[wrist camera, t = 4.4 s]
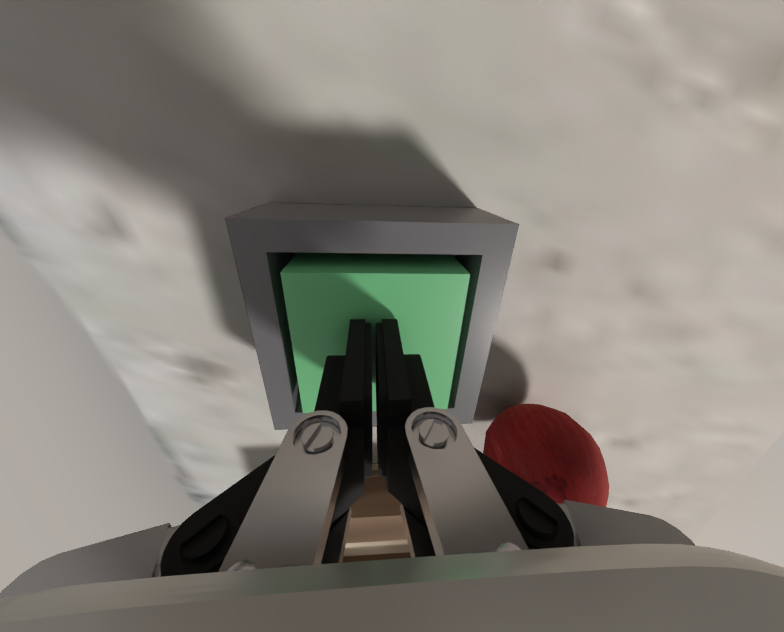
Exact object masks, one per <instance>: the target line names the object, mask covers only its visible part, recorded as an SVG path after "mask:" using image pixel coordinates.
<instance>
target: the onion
mask: <svg viewBox="0 0 784 632" xmlns="http://www.w3.org/2000/svg"><path fill="white" fill-rule="evenodd" d="M483 454H485V455H486V456H488V457H489V458H491V459H492V460H494V461H495V462H497V463H499V464H500V465H502V466H503V467H505V468H506V469H508V470H509V471H511V472H513V473H514V474H516V475H517V476H519V477H520V478H522V479H523V480H525V481H527V482H528V483H530V484H531V485H533V486H534V487H536V488H537V489H539V490H541V491H542V492H544V493H545V494H546V495H548V496H549V497H550V498H551V499H553V500H554V501H555V502H556V503H560V504H563V502H564V500H569V501H574V502H580V503H585V504H591V505H596V506H601V507H606V505H607V500H608V494H609V483H608V476H607V471H606V467H605V462H604V459H603V457H602V454H601V451H600V448H599V447H598V445H597V444H596V442H595V441H594V439H593V438H592V436H591V435H590V434H589V433H588V432H587V431H586V430H585V429H584V428H582V427H581V426H580V425H579V424H578V423H577V422H575V421H574V420H573V419H572V418H571V417H570V416H568V415H567V414H566V413H564V412H561V411H558V410H556V409H553V408H549V407H546V406H543V405H538V404H517V405H513V406H510V407H508V408H507V409H505V410H504V411H502V412H501V413H500V414H498V416H497V417H496V418H495V420H494V421H493V422H492V424H491V425H490V427H489V428H488V430H487V431H486V437H485V444H484V451H483Z"/></svg>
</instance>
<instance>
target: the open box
mask: <svg viewBox="0 0 784 632" xmlns="http://www.w3.org/2000/svg"><path fill="white" fill-rule="evenodd" d="M401 558H411V555H410V551H409V546H408V542H407V538H406V533H405V529H404V525H403V520H402V516H401V512H400V503H399V501H398V500H397V499H396V498H395V497H394V496H393V495H392V494H390V493H389V492H388V488H386V481H385V476H378V464H372V477H365V489H364V493H363V494H362V495H361V496H360V497H359V498H358V499H357V500H356V501H355V503H354V504H353V505H352V514H351V519H350V524H349V529H348V535H347V540H346V545H345V550H344V556H343V561H342V563H346V562H359V561H373V560H387V559H401Z"/></svg>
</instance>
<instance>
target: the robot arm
mask: <svg viewBox="0 0 784 632" xmlns="http://www.w3.org/2000/svg"><path fill="white" fill-rule="evenodd" d="M376 416H377V450H378V476H385V481H386V488H388V492H389V493H390V494H392V495H393V496H394V497H395V498H396V499H397V500H398V501H399V503H400V512H401V516H402V520H403V525H404V529H405V533H406V538H407V542H408V546H409V551H410V555H411V558H401V559H387V560H373V561H359V562H346V563H342V561H343V556H344V550H345V545H346V540H347V535H348V529H349V524H350V519H351V514H352V505H353V504H354V503H355V501H356V500H357V499H358V498H359V497H360V496H361V495H362V494H363V493H364V489H365V477H372V338H371V323H365V319H350V324H349V331H348V339H347V347H346V355H329V356H327V357H326V361H325V365H324V370H323V374H322V379H321V383H320V388H319V392H318V396H317V401H316V405H315V410H314V412H310V413H307V414H305V415H304V416H302V417H300V418H299V419H297V420H296V421H295V422H294V423H293V424H292V425H291V427H290V428H289V430H288V431H287V433H286V435H285V437H284V439H283V441H282V443H281V445H280V447H279V449H278V451H277V453H276V455H275V456H273V457H272V458H270V459H269V460H268V461H266V462H265V463H263V464H262V465H261V466H259V467H258V468H256V469H255V470H254V471H252V472H251V473H249V474H248V475H247V476H245V477H244V478H242V479H241V480H240V481H238V482H237V483H235V484H234V485H233V486H231V487H230V488H228V489H227V490H226V491H224V492H223V493H221V494H220V495H219V496H217V497H216V498H214V499H213V500H212V501H210V502H209V503H207V504H206V505H205V506H203V507H202V508H200V509H199V510H198V511H196V512H195V513H193V514H192V515H191V516H190V517H189V518H188V519H186V520H185V521H184V522H183V523H182V524H181V525H178V526H175V527H171V525H170V523H167V524H164V525H160V526H156V527H153V528H150V529H146V530H142V531H139V532H135V533H131V534H128V535H124V536H121V537H117V538H114V539H110V540H106V541H103V542H99V543H95V544H92V545H89V546H85V547H81V548H78V549H74V550H71V551H67V552H63V553H60V554H57V555H55V556H52V557H50V558H47V559H45V560H43V561H41V562H39V563H38V564H36V565H35V566H33V567H32V568H30V569H28V570H27V571H25V572H24V573H22V574H21V575H20V576H18V577H17V578H16V579H15V580H14V581H13V582H12V583H11V584H9V585H8V586H7V587H6V588H5V589H4V590H2V592H1V593H0V632H784V568H783V567H780V566H777V565H774V564H771V563H768V562H765V561H762V560H759V559H756V558H752V557H748V556H745V555H741V554H738V553H734V552H730V551H725V550H720V549H715V548H710V547H702V546H695V544H694V543H693V542H692V541H691V540H690V539H689V538H688V537H687V536H685V535H684V534H683V533H682V532H681V531H680V530H678V529H677V528H676V527H674V526H672V525H671V524H669V523H667V522H666V521H664V520H662V519H659V518H656V517H653V516H650V515H645V514H639V513H634V512H629V511H623V510H618V509H612V508H607V507H601V506H596V505H591V504H585V503H580V502H574V501H569V500H564V502H563V504H560V503H556V502H555V501H554V500H553V499H551V498H550V497H549V496H548V495H546V494H545V493H544V492H542V491H541V490H539V489H537V488H536V487H534V486H533V485H531V484H530V483H528V482H527V481H525V480H523V479H522V478H520V477H519V476H517V475H516V474H514V473H513V472H511V471H509V470H508V469H506V468H505V467H503V466H502V465H500V464H499V463H497V462H495V461H494V460H492V459H491V458H489V457H488V456H486V455H485V454H483V453H481V452H480V451H478V450H477V449H475V448H474V447H473V445H472V443H471V442H470V440H469V438H468V436H467V434H466V432H465V430H464V429H463V427H462V425H461V424H460V422H459V421H458V420H457V418H456V417H455V416H453V415H452V414H451V413H449V412H447V411H445V410H443V409H439V408H435V406H434V403H433V399H432V395H431V392H430V388H429V384H428V381H427V377H426V373H425V370H424V366H423V362H422V359H421V356H420V354H403V348H402V343H401V337H400V332H399V326H398V321H397V319H382V323H376Z"/></svg>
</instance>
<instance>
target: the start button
mask: <svg viewBox="0 0 784 632" xmlns="http://www.w3.org/2000/svg"><path fill="white" fill-rule="evenodd" d="M280 274H281V280H282V286H283V292H284V299H285V305H286V311H287V317H288V323H289V330H290V336H291V342H292V348H293V355H294V361H295V367H296V373H297V379H298V386H299V392H300V398H301V404H302V410H303V413H310V412H314V410H315V405H316V401H317V396H318V392H319V388H320V383H321V379H322V374H323V370H324V365H325V361H326V357H327V356H329V355H346V347H347V339H348V331H349V324H350V319H365V323H371V338H372V411H376V323H382V319H397V321H398V326H399V332H400V337H401V343H402V348H403V354H420V356H421V359H422V362H423V366H424V370H425V373H426V377H427V381H428V384H429V388H430V392H431V395H432V399H433V403H434V406H435V408H439V409H447V408H448V403H449V397H450V391H451V385H452V379H453V373H454V367H455V361H456V356H457V350H458V344H459V338H460V332H461V326H462V320H463V314H464V308H465V303H466V297H467V291H468V285H469V279H470V273H469V272H468V271H467V270H466V269H465V268H464V267H463V266H462V265H461V263H460V262H459V261H458V260H457V259H456V258H455V257H454V256H453V255H452V254H379V253H303V252H297V254H296V255H295V256H294V257H293V258H292V259H291V261H290V262H289V263H288V264H287V265H286V267H285V268H284V269H283V270H282V271H281V272H280Z"/></svg>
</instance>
